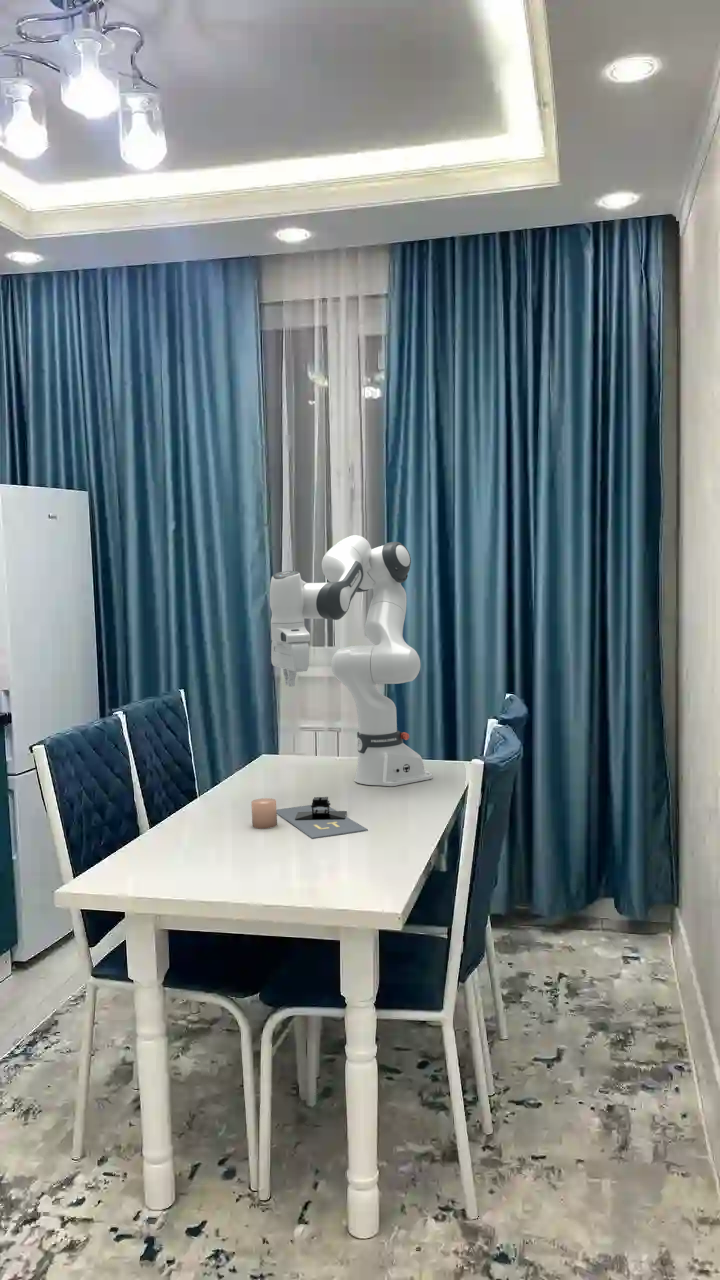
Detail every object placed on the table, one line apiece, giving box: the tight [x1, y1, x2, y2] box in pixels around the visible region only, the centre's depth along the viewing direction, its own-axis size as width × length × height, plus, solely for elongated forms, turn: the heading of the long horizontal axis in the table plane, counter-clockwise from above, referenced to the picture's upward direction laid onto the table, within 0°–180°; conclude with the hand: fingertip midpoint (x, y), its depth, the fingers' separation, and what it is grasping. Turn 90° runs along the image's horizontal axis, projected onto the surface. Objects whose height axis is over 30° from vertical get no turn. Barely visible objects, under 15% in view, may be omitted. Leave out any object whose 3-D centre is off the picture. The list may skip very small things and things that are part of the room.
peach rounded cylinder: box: [250, 797, 278, 830], centre depth 244 cm, size 6×6×6 cm
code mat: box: [276, 804, 368, 840], centre depth 247 cm, size 14×29×1 cm, turn 23°
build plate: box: [295, 796, 348, 820], centre depth 250 cm, size 12×7×5 cm, turn 87°
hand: (290, 685), depth 264 cm, fingers closed
